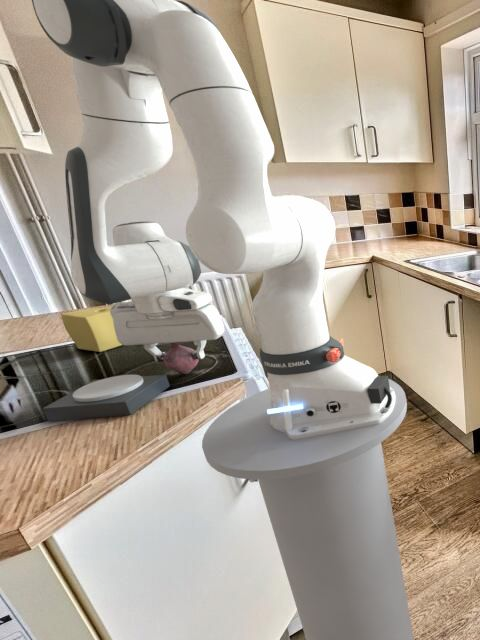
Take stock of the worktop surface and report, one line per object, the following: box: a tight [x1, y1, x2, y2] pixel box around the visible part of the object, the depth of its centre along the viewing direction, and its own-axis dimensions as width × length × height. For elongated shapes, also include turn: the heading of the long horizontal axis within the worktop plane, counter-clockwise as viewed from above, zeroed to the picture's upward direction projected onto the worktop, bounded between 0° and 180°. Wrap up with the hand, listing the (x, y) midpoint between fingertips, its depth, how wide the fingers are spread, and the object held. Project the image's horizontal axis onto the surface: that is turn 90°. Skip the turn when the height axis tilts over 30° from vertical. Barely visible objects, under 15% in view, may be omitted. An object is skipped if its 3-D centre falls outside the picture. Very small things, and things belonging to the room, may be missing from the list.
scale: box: [42, 374, 171, 423], centre depth 84 cm, size 14×12×4 cm
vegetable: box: [163, 342, 200, 376], centre depth 94 cm, size 6×6×10 cm
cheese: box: [61, 305, 123, 353], centre depth 115 cm, size 10×11×10 cm
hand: (181, 359), depth 95 cm, fingers open, 6 cm apart
